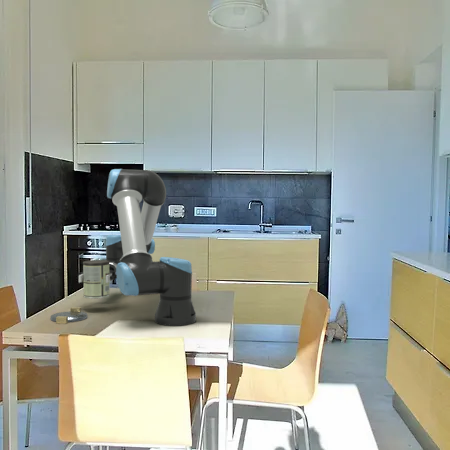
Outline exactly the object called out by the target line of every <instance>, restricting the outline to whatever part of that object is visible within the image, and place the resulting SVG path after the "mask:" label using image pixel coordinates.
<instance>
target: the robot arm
mask: <svg viewBox="0 0 450 450" xmlns="http://www.w3.org/2000/svg"><path fill="white" fill-rule="evenodd" d="M106 197H107V199H110V200H112V203H113V205H114V206H116V209H117V215H118V224H119V232H120V233H119V234H108V235H107V236H106V239H105V241H106V242H105V253H106V254H105V255H106V257H105V260H108V261H110V263H109V275H107V276H106V283H108V282H109V283H110V282H112V281H115V280H116V283H117V286H118V289H119V291H120V292H121V294H122V295H124V296H134V297H136V296H145V295H159V301H158V304H157V308H156V311H155V314H154V322H155V323H156V324H159V325H162V326H163V325H164V326H170V327H171V326H187V325H192V324H193V323H196V321H197V313H196V310H195V307H194V304H193V301H192V294H193V293H192V285H193V284H192V282H193V281H192V280H193V279H192V278H193V276H192V275H193V269H192V263H191V261H190V260H188V259H184V258H180V257H179V258H178V257H170V256H169V257H168V256H161V257H160V258H159V261H153V257H152V255H153V254H154V252H155V251H156V242H155V239H153V236H154V234H155V233H154V232H155V229H156V227H157V222H158V219H159V215H160V211H161V208H162V206H163V205H164V203H165V202H166V198H167V189H166V186H165V182H164V181H163V179H162V177H161V176H160V175H159V174H157V173H156V172H154V171H152V170H149V169H123V168H114V169H111V170H110V172H109V174H108V180H107V190H106ZM142 201H143V204H142V207H141V206H140V204H141V202H142ZM140 207H141V208H140ZM77 280H78V283H83V271H81V272H78V273H77Z"/></svg>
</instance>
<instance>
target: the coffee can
mask: <svg viewBox="0 0 450 450" xmlns="http://www.w3.org/2000/svg"><path fill="white" fill-rule="evenodd" d="M109 263H110V261H108V260H106V259H94V260H91V259H89V260H85V261H83V262H82V265H83V266H82V267H83V268H82V269H83V270H82V272H83V282H82V283H83V296H82V297H83V298H84V299H91V300H92V299H94V300H95V299H106V298H108V297H110V291H111V289H110V282H108V283H106V276H107V275H109Z"/></svg>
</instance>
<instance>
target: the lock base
mask: <svg viewBox="0 0 450 450" xmlns="http://www.w3.org/2000/svg"><path fill="white" fill-rule="evenodd" d="M86 319H88V313H87V312H84V311H82V307H79V306H77V307H73V306H72V307H70V311H61V312H57V313H56V312H55V313H53V314H51V315H50V322H55V324H59V325H60V324H63V325H65V324H68V323H75V322H76V323H77V322H81V321H84V320H86Z"/></svg>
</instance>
